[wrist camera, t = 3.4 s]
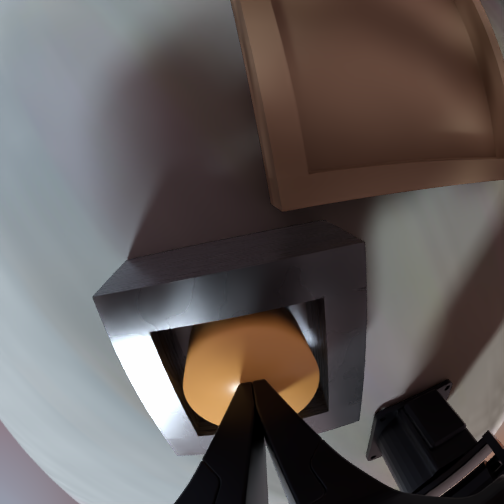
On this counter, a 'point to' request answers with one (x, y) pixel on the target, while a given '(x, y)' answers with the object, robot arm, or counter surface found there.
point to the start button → (248, 361)
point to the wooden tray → (372, 96)
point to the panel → (239, 304)
